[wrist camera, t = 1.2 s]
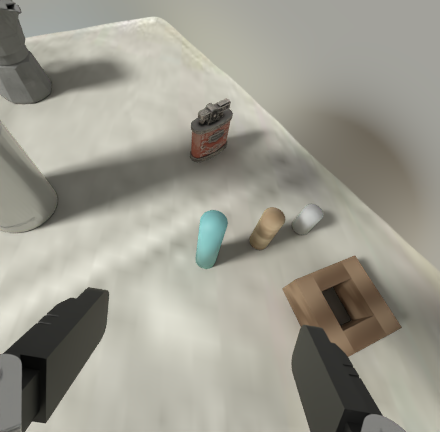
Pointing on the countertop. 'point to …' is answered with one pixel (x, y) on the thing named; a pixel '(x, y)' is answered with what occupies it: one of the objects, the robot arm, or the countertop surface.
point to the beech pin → (267, 228)
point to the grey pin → (307, 219)
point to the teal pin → (210, 238)
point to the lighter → (210, 130)
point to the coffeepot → (18, 61)
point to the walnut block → (352, 301)
